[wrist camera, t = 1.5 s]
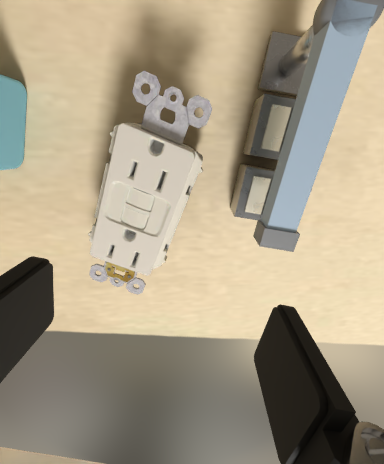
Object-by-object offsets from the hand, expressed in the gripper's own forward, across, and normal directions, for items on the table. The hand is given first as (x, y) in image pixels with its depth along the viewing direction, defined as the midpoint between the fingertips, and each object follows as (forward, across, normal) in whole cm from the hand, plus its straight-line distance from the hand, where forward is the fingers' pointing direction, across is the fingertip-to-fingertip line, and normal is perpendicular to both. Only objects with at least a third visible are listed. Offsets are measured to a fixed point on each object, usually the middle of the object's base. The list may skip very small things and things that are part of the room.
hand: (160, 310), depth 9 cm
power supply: (+28, -10, -11) cm, 32 cm away
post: (+28, -9, -19) cm, 35 cm away
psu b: (+28, -10, -2) cm, 30 cm away
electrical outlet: (+29, +6, +2) cm, 29 cm away
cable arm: (+16, -10, -10) cm, 21 cm away
